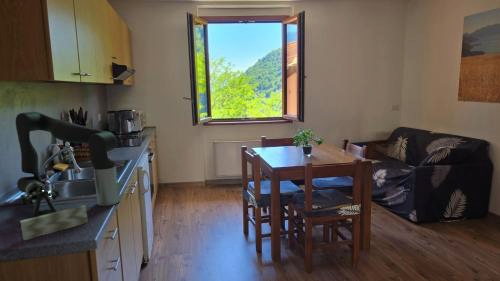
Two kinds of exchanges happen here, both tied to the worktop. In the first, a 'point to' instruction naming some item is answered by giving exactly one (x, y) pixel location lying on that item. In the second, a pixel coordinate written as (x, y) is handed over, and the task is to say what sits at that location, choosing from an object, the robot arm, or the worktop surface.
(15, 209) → the worktop surface
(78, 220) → the wall board
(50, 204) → the phone stand
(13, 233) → the worktop surface
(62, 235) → the worktop surface
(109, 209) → the worktop surface
